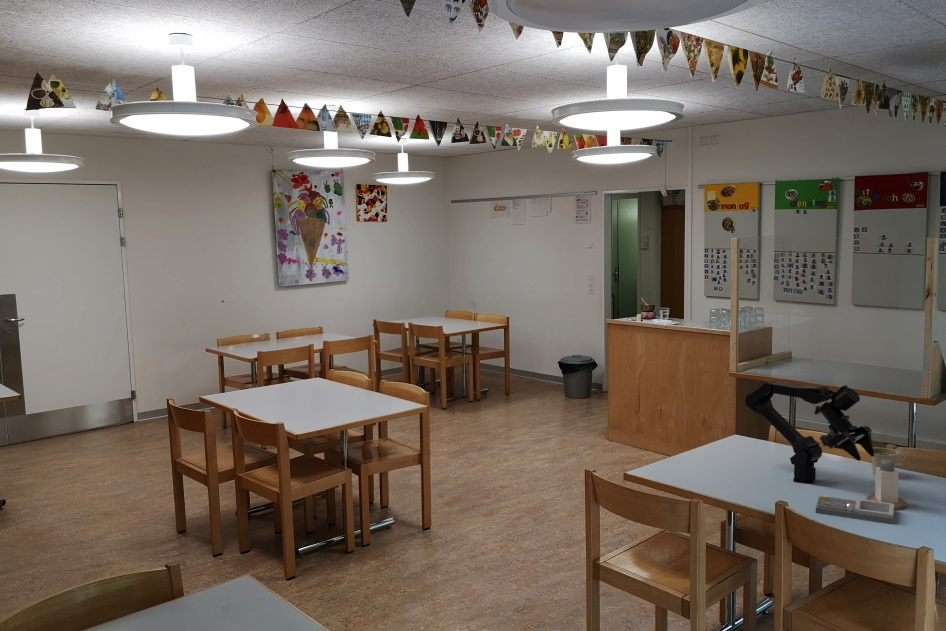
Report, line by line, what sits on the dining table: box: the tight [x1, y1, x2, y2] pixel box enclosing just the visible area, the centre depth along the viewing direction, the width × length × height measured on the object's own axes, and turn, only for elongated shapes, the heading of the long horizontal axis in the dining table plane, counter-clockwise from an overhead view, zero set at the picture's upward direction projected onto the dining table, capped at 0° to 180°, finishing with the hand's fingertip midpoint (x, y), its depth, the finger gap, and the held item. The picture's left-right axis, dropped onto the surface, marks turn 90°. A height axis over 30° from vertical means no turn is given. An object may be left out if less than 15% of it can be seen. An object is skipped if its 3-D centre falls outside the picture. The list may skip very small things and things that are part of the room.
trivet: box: [866, 493, 907, 511], centre depth 240 cm, size 11×11×1 cm
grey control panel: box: [815, 494, 895, 525], centre depth 234 cm, size 21×12×3 cm, turn 59°
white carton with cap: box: [874, 459, 900, 503], centre depth 239 cm, size 5×5×13 cm
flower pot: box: [870, 447, 899, 476], centre depth 267 cm, size 9×9×9 cm
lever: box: [817, 499, 853, 512], centre depth 232 cm, size 10×2×4 cm, turn 59°
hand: (866, 458), depth 244 cm, fingers open, 9 cm apart
